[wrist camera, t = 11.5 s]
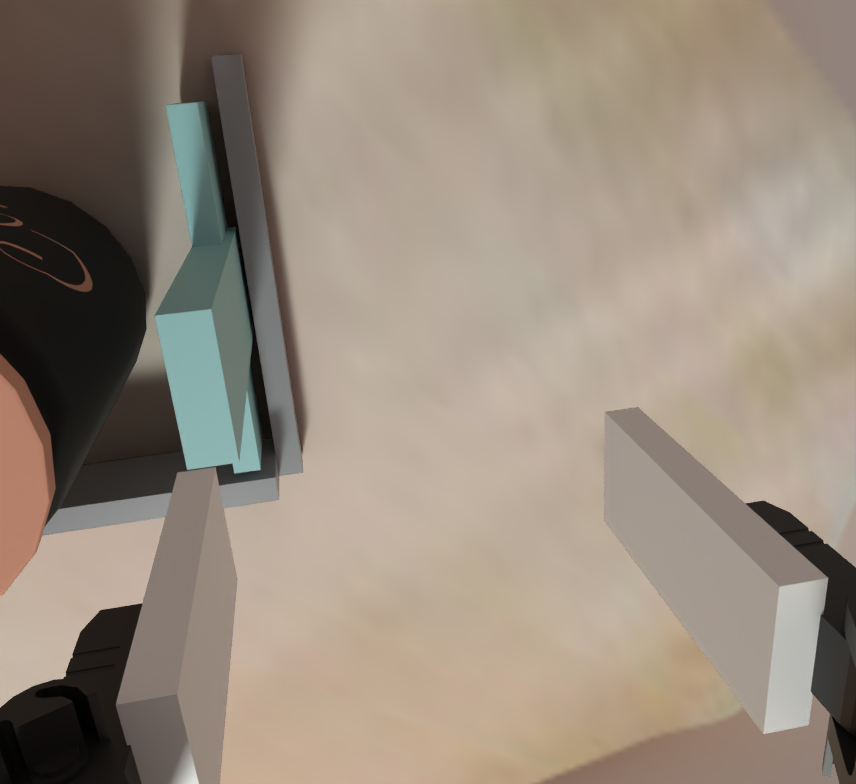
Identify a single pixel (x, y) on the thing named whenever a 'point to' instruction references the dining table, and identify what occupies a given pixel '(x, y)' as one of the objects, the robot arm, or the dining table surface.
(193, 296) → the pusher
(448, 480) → the dining table surface
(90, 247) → the coffee jar
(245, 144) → the grey piece
